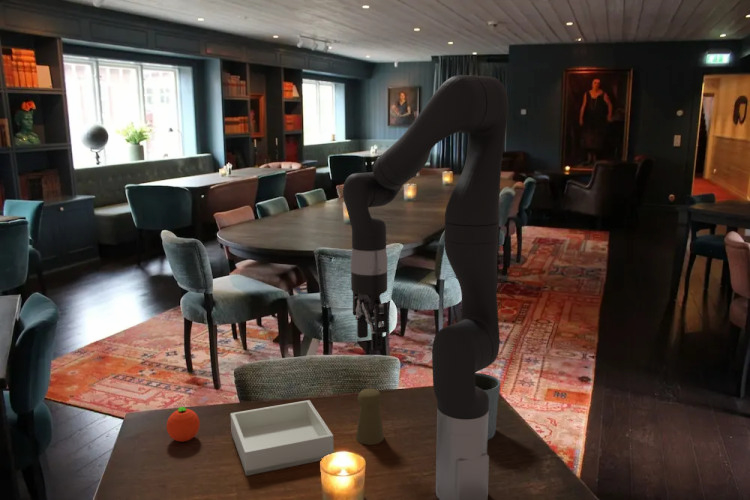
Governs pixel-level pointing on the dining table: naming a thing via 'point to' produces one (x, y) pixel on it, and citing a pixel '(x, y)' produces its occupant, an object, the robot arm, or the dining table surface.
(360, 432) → the olive pepper mill
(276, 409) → the serving bin
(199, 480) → the dining table surface
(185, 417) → the clementine
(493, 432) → the grey round pot
